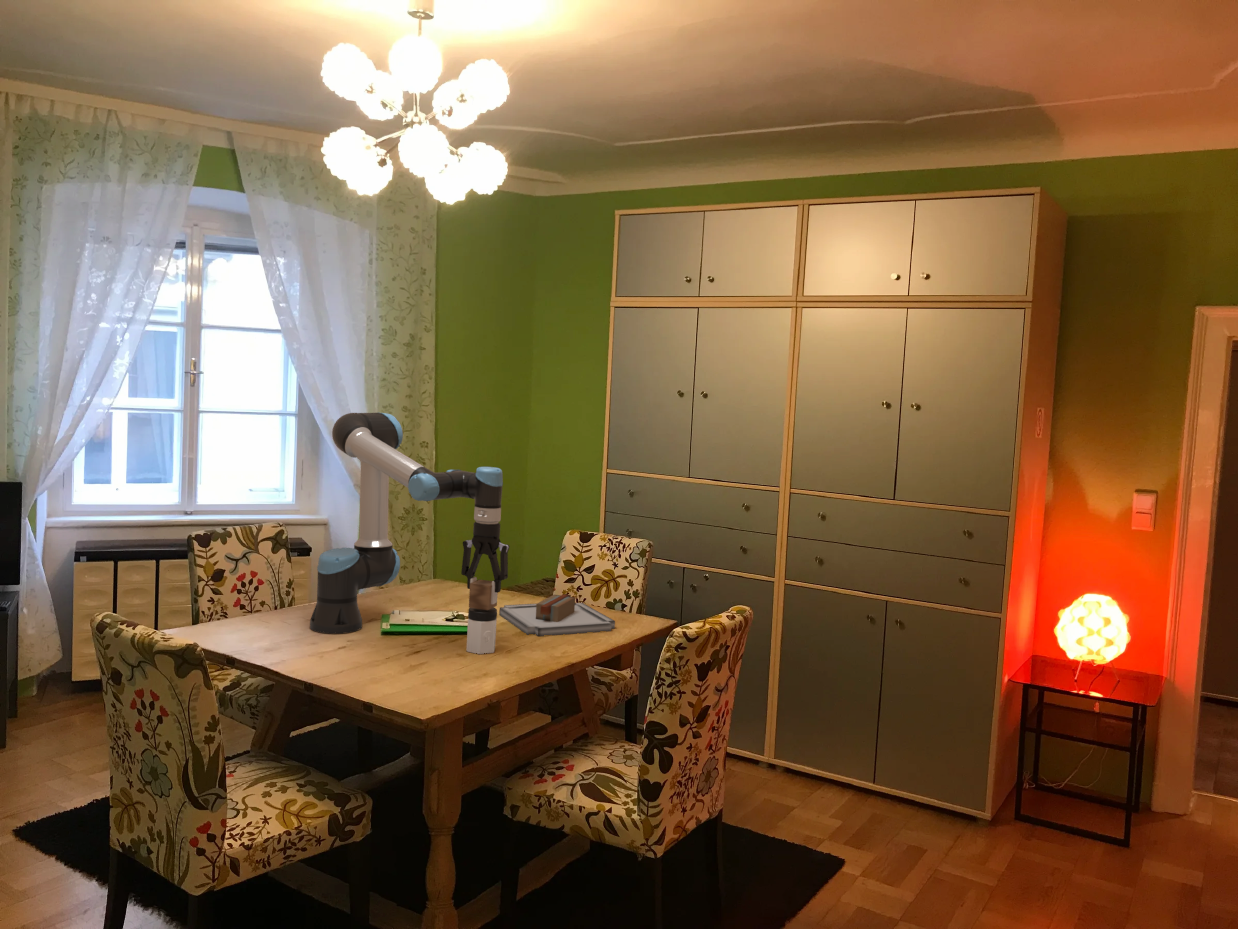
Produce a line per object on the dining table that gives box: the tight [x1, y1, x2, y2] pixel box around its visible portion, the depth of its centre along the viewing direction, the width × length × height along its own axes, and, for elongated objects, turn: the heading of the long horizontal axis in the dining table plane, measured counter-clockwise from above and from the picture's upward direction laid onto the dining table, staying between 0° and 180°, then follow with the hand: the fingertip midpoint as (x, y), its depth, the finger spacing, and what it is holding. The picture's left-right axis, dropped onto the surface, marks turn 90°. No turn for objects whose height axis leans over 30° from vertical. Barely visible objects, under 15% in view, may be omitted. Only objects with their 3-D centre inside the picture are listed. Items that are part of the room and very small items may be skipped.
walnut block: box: [468, 579, 498, 610], centre depth 281 cm, size 6×6×7 cm
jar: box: [466, 607, 498, 655], centre depth 282 cm, size 9×8×12 cm
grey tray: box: [498, 593, 616, 637], centre depth 319 cm, size 30×30×8 cm
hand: (483, 601), depth 281 cm, fingers closed on walnut block, 6 cm apart
